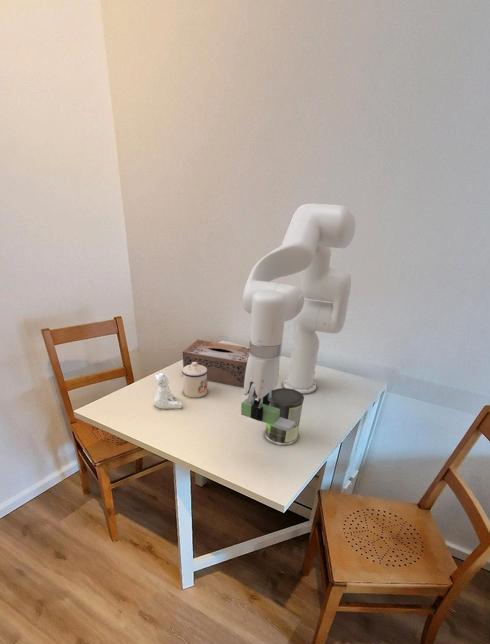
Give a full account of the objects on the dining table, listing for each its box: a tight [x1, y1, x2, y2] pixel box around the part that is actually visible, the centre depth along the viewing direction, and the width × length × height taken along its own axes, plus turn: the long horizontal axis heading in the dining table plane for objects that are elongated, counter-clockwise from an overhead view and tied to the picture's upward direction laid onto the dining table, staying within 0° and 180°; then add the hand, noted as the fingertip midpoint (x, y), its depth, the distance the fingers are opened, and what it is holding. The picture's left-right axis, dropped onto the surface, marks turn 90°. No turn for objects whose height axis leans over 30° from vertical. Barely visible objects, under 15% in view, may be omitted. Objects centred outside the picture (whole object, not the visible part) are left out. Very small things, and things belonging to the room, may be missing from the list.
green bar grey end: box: [240, 398, 296, 432], centre depth 99 cm, size 14×4×4 cm, turn 57°
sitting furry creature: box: [153, 372, 182, 410], centre depth 131 cm, size 10×9×12 cm
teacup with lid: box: [181, 362, 208, 398], centre depth 140 cm, size 12×9×12 cm
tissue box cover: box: [182, 339, 250, 388], centre depth 152 cm, size 26×14×10 cm, turn 70°
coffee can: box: [264, 387, 305, 446], centre depth 117 cm, size 10×10×14 cm
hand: (259, 415), depth 101 cm, fingers closed on green bar grey end, 2 cm apart
